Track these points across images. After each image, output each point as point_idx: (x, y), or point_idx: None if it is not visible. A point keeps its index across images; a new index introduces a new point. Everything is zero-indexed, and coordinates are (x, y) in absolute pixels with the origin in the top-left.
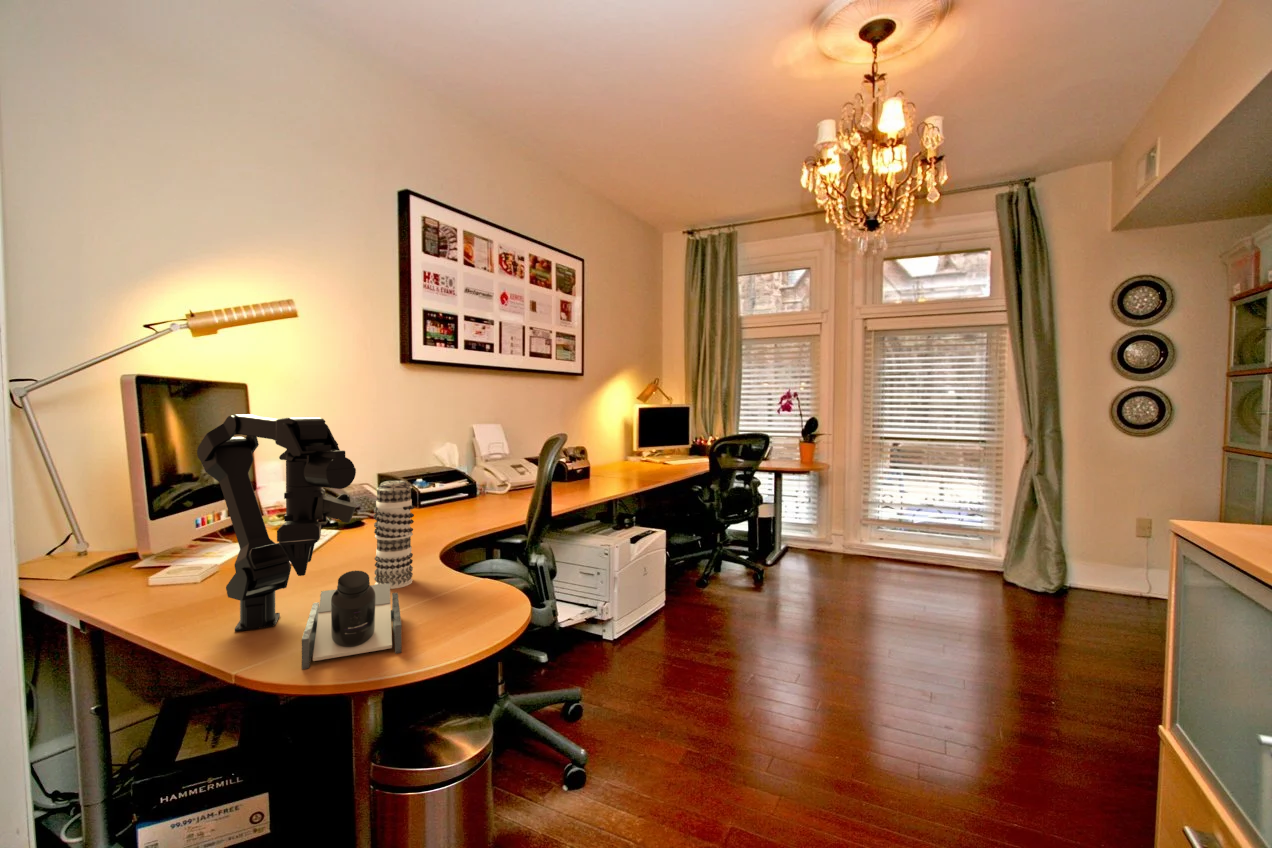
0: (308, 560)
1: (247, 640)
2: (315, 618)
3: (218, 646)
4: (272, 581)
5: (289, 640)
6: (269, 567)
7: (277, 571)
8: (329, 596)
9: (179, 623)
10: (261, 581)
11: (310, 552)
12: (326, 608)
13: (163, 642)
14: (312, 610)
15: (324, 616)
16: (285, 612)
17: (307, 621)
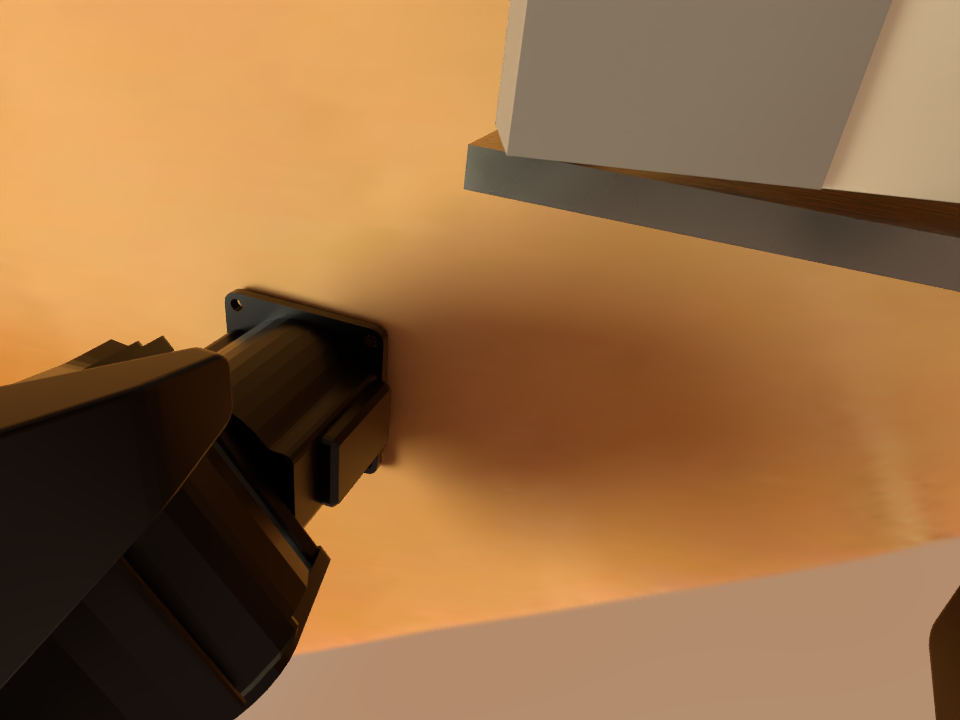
0: (215, 383)
1: (510, 442)
2: (794, 199)
3: (517, 532)
4: (234, 485)
5: (637, 289)
6: (168, 592)
7: (174, 507)
8: (624, 78)
9: None
10: (281, 572)
11: (121, 424)
12: (803, 117)
13: (371, 635)
14: (652, 214)
15: (899, 139)
16: (199, 257)
17: (937, 285)
